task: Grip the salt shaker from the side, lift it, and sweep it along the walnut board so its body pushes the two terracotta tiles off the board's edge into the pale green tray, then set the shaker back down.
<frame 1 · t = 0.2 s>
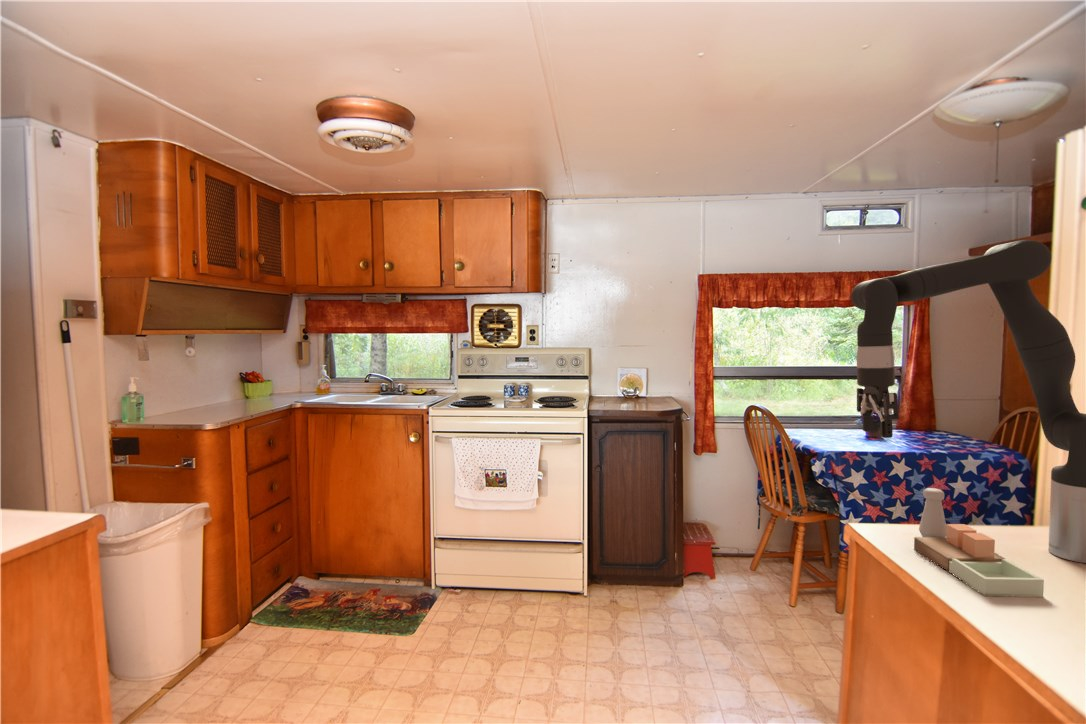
hand: (877, 434, 127), 29 cm above the worktop, tool pointing down, fingers open, 8 cm apart
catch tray: (993, 584, 113), on the worktop
salt shaker: (932, 540, 136), on the worktop
tile rear: (960, 544, 126), point 3 cm above the worktop, touching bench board
tile front: (978, 553, 121), point 3 cm above the worktop, touching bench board
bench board: (957, 560, 125), on the worktop
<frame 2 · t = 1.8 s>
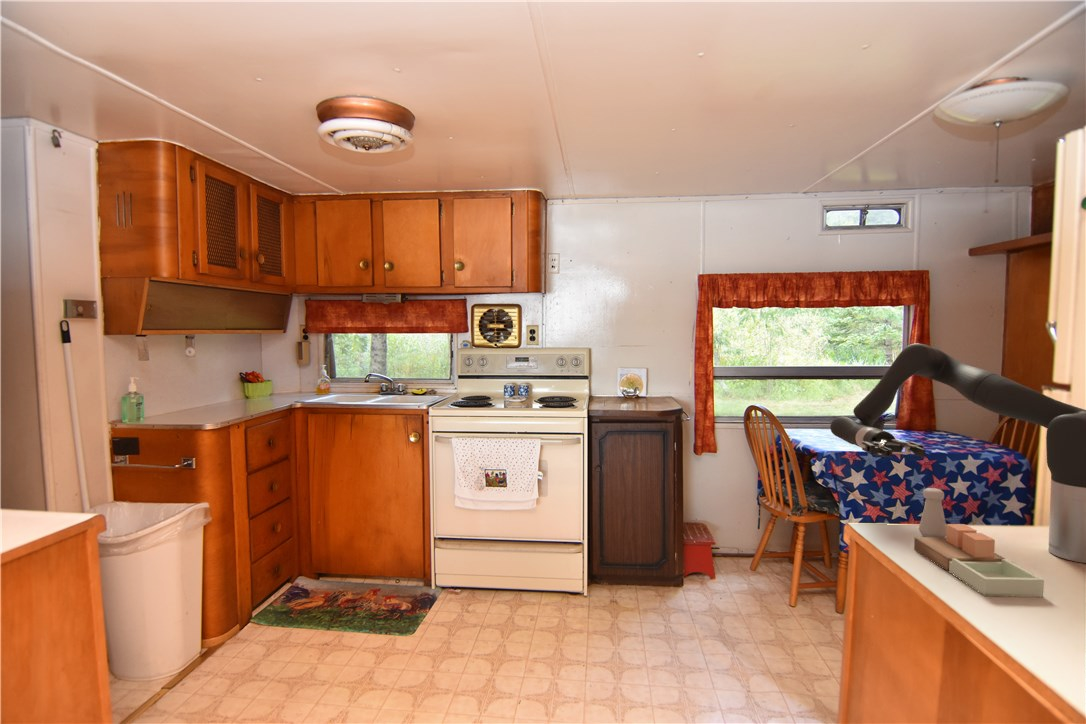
hand: (907, 453, 146), 19 cm above the worktop, tool horizontal, fingers open, 8 cm apart
nothing on the worktop moved.
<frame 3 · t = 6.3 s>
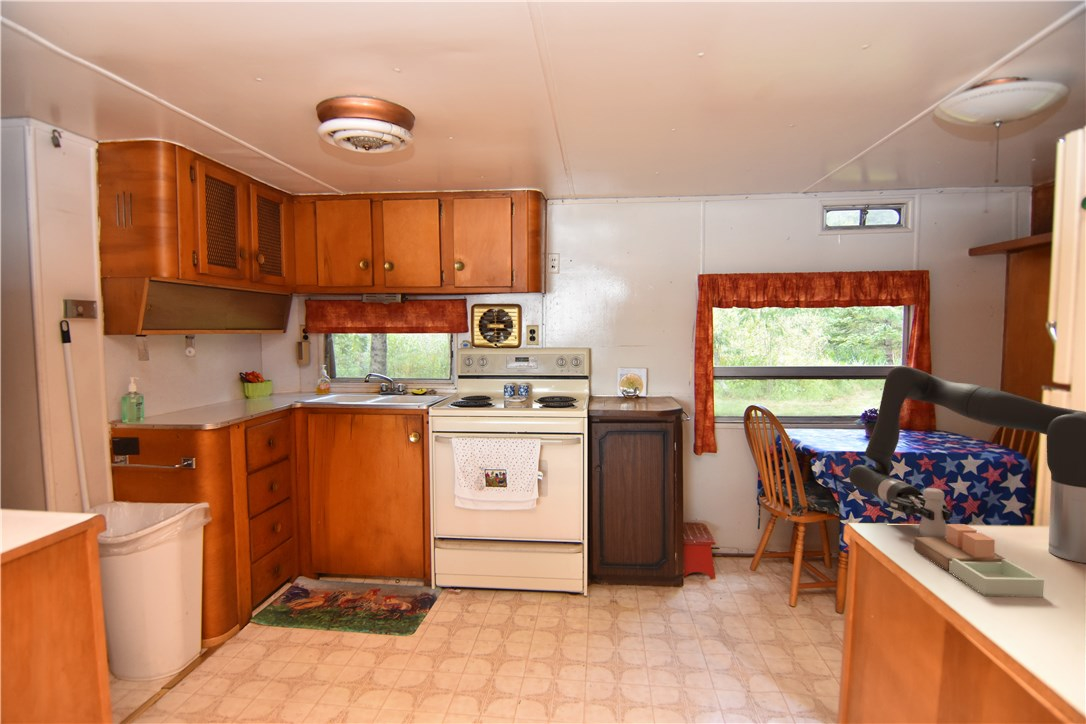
hand: (940, 516, 133), 7 cm above the worktop, tool horizontal, fingers closed on salt shaker, 3 cm apart
salt shaker: (932, 540, 136), on the worktop, touching gripper
everything else where it was.
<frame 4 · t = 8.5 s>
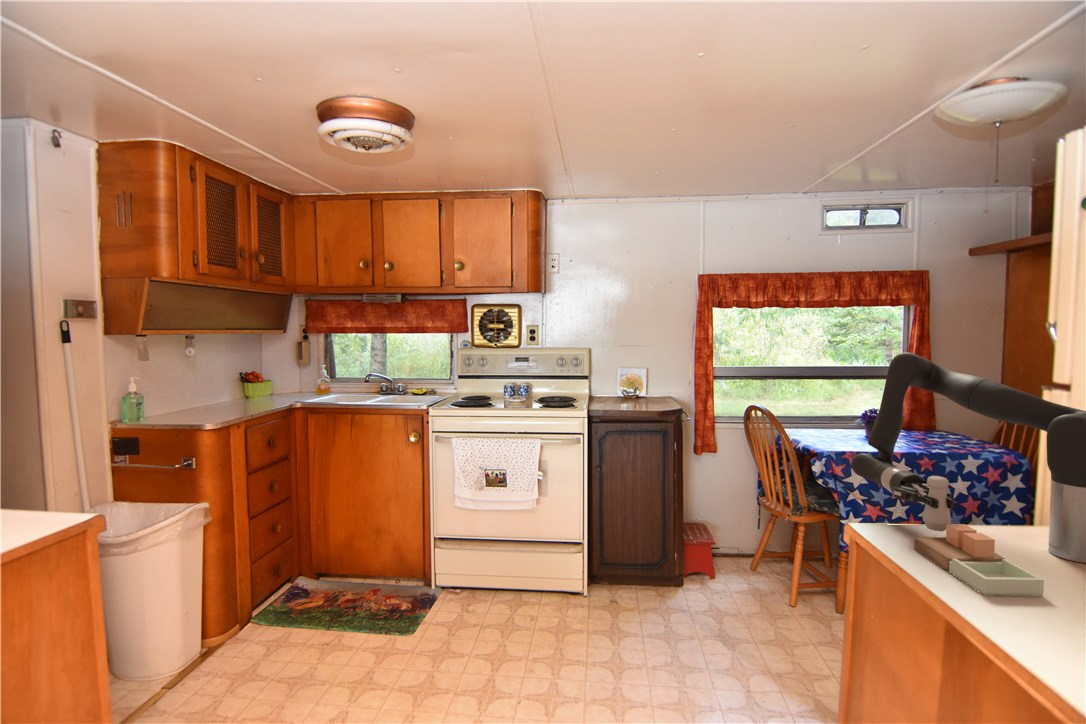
hand: (944, 504, 132), 10 cm above the worktop, tool horizontal, fingers closed on salt shaker, 3 cm apart
salt shaker: (936, 529, 135), point 3 cm above the worktop, touching gripper
everything else where it was.
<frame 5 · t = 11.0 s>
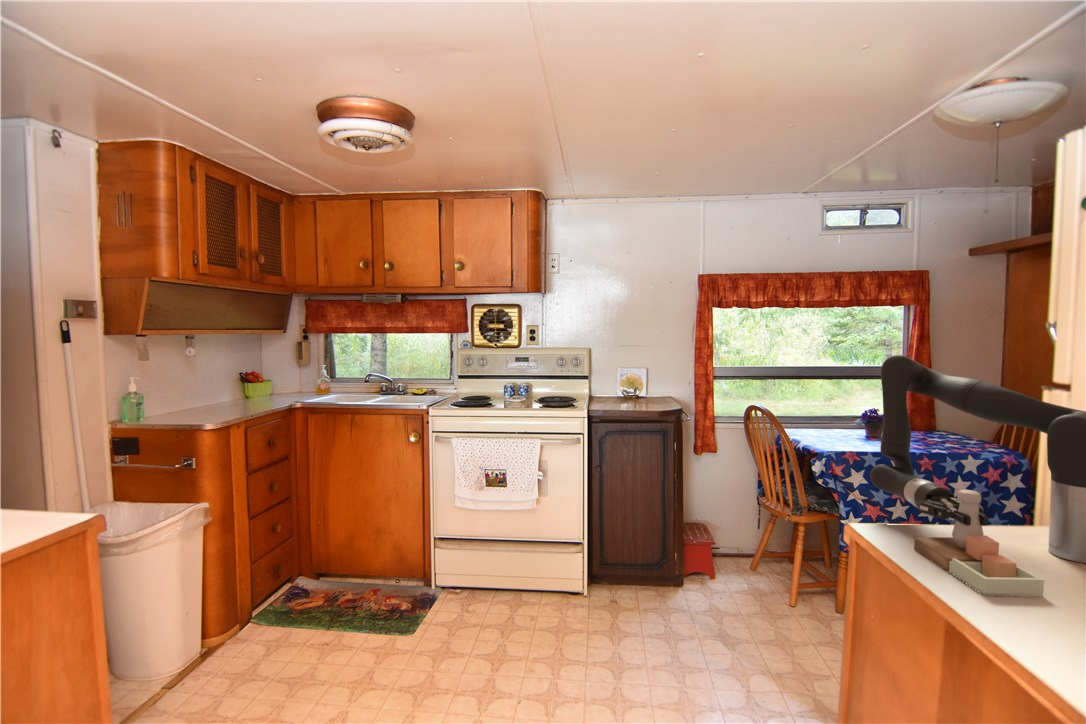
hand: (977, 521, 121), 10 cm above the worktop, tool horizontal, fingers closed on salt shaker, 3 cm apart
salt shaker: (967, 547, 124), point 3 cm above the worktop, touching gripper
tile rear: (981, 556, 119), point 3 cm above the worktop, touching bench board
tile front: (991, 564, 117), point 2 cm above the worktop, tilted 90°, touching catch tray
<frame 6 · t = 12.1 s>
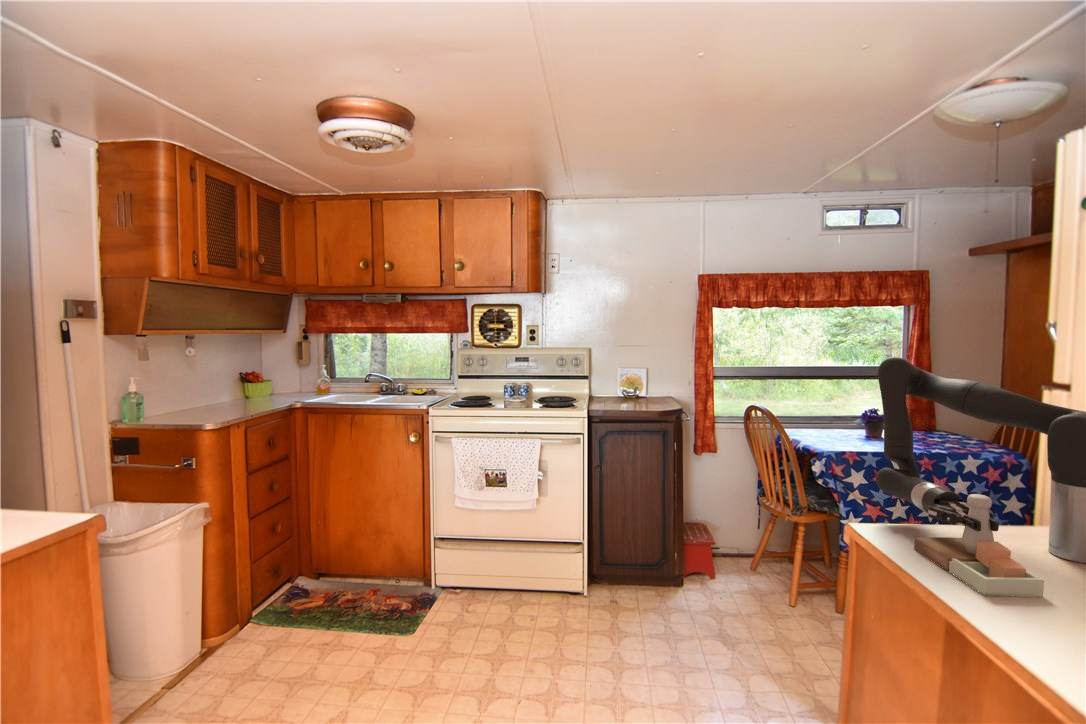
hand: (987, 526, 118), 10 cm above the worktop, tool horizontal, fingers closed on salt shaker, 3 cm apart
salt shaker: (977, 553, 121), point 3 cm above the worktop, touching gripper, tile rear
tile rear: (992, 563, 116), point 3 cm above the worktop, tilted 6°, touching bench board, salt shaker, tile front
tile front: (999, 567, 114), point 3 cm above the worktop, tilted 96°, touching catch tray, tile rear
when the fingers open (8 cm above the worktop, at t = 15.0 s): salt shaker drops 1 cm, on the worktop.
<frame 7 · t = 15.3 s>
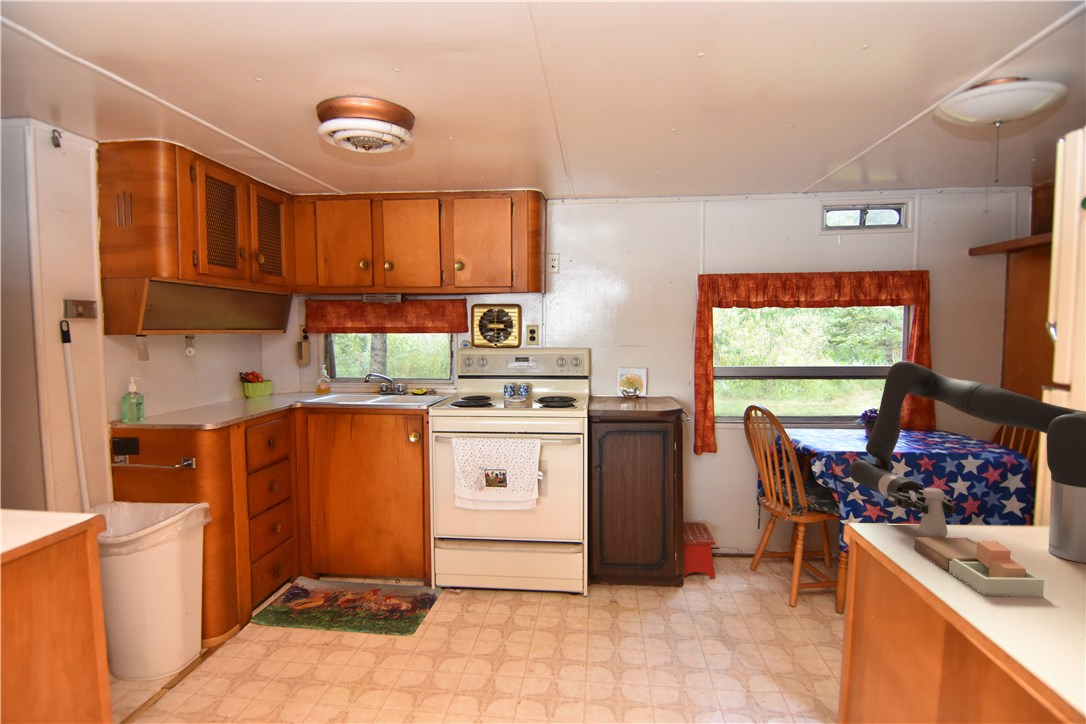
hand: (940, 510, 133), 9 cm above the worktop, tool horizontal, fingers open, 5 cm apart
salt shaker: (932, 540, 137), on the worktop
tile rear: (992, 563, 116), point 3 cm above the worktop, tilted 6°, touching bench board, tile front
everything else where it was.
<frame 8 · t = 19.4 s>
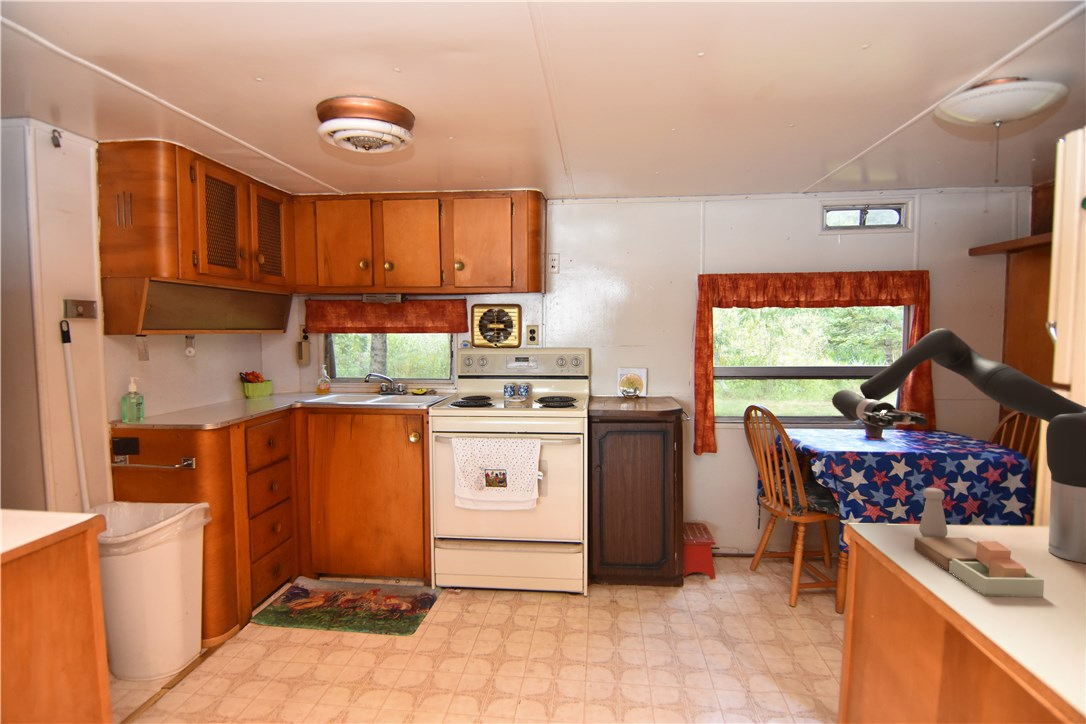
hand: (908, 422, 146), 28 cm above the worktop, tool horizontal, fingers open, 8 cm apart
nothing on the worktop moved.
at the end: tile front inside the target area on the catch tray (3.3 cm from its centre), point 2.9 cm above the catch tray's base; tile rear inside the target area on the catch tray (4.9 cm from its centre), point 2.8 cm above the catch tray's base; the gripper is holding nothing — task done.
